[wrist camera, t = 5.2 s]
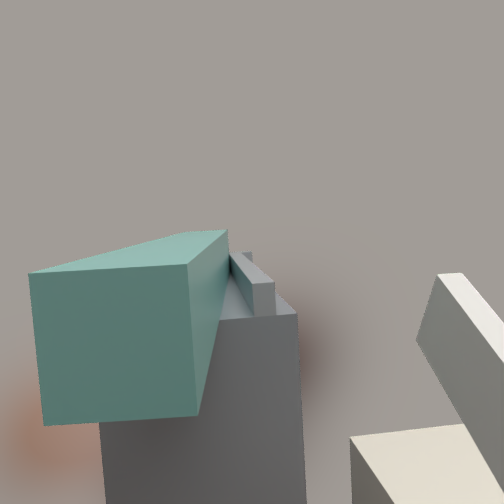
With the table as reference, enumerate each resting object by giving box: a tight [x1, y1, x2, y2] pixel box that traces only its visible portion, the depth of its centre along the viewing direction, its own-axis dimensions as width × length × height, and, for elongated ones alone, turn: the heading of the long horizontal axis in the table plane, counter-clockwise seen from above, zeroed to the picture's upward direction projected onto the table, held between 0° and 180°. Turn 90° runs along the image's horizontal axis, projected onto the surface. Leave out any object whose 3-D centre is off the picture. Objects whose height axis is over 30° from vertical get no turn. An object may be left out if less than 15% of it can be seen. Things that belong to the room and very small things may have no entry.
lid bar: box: [28, 230, 230, 426], centre depth 22 cm, size 4×26×4 cm, turn 1°
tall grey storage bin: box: [99, 251, 307, 504], centre depth 29 cm, size 9×18×32 cm, turn 7°
